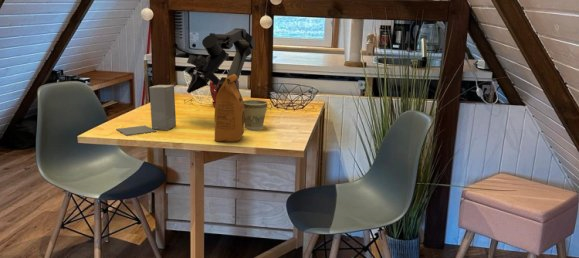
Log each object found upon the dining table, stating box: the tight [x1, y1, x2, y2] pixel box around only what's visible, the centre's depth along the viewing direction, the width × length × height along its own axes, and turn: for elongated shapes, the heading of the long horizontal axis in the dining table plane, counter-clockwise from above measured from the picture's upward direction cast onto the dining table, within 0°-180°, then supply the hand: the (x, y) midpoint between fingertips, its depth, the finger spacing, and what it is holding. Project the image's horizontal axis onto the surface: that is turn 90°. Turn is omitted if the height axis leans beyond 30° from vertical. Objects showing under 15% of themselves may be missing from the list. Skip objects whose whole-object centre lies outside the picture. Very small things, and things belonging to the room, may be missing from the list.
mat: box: [115, 125, 157, 137], centre depth 187 cm, size 11×10×1 cm
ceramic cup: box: [243, 99, 268, 131], centre depth 197 cm, size 13×10×10 cm
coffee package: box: [214, 74, 245, 142], centre depth 178 cm, size 10×12×22 cm
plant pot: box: [209, 78, 240, 107], centre depth 235 cm, size 13×13×12 cm
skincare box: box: [148, 84, 177, 131], centre depth 191 cm, size 8×7×16 cm
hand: (187, 92), depth 197 cm, fingers closed
